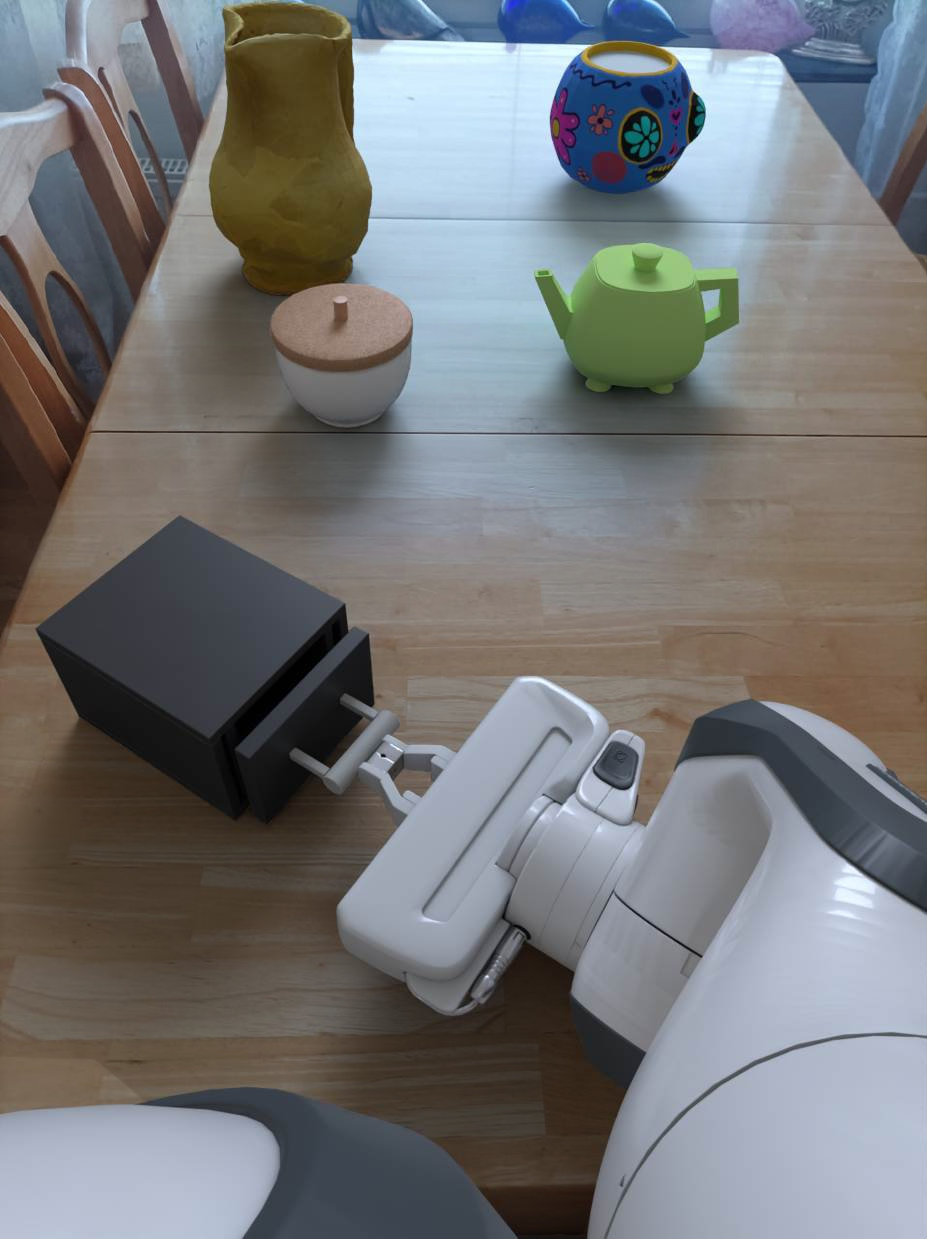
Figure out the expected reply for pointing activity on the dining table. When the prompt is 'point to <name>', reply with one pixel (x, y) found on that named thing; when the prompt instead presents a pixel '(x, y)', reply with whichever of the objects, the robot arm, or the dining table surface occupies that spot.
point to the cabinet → (185, 650)
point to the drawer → (307, 725)
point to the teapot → (639, 315)
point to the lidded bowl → (343, 351)
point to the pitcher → (290, 147)
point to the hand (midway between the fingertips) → (371, 756)
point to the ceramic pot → (624, 116)
